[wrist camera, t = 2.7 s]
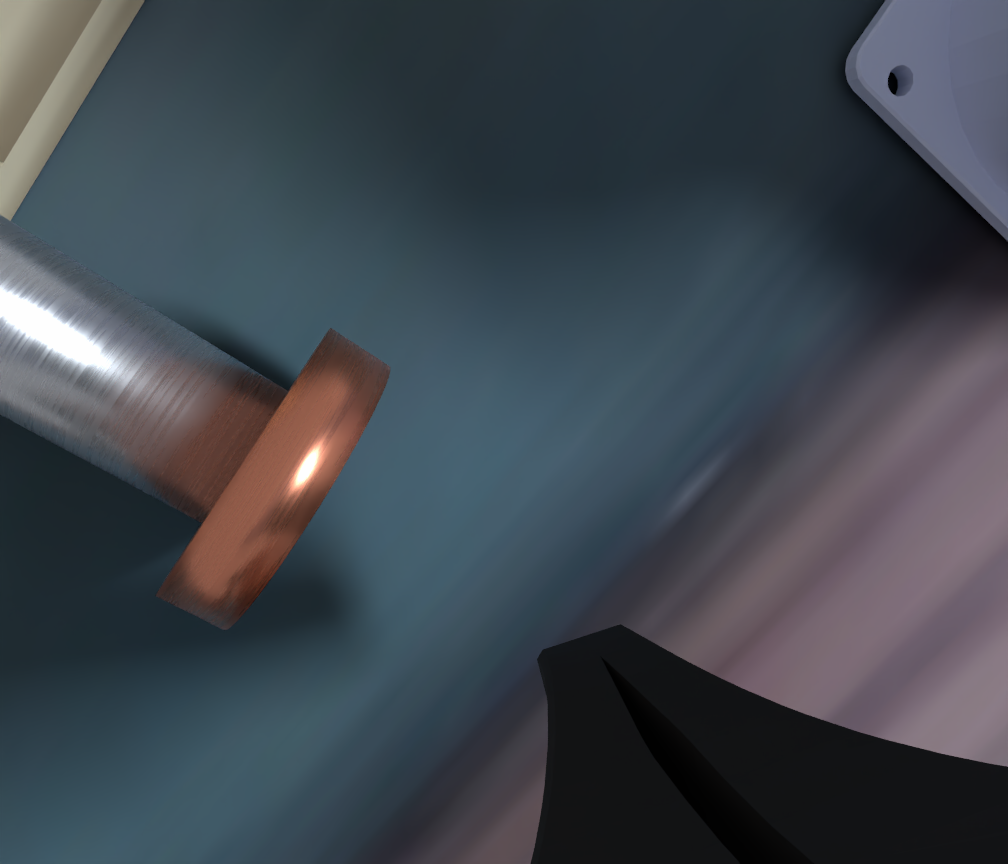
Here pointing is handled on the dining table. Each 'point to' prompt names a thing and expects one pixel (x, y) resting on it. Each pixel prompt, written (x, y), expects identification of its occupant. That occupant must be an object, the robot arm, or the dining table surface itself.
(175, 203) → the dining table surface
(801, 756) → the robot arm
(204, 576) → the pin
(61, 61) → the hitch block
